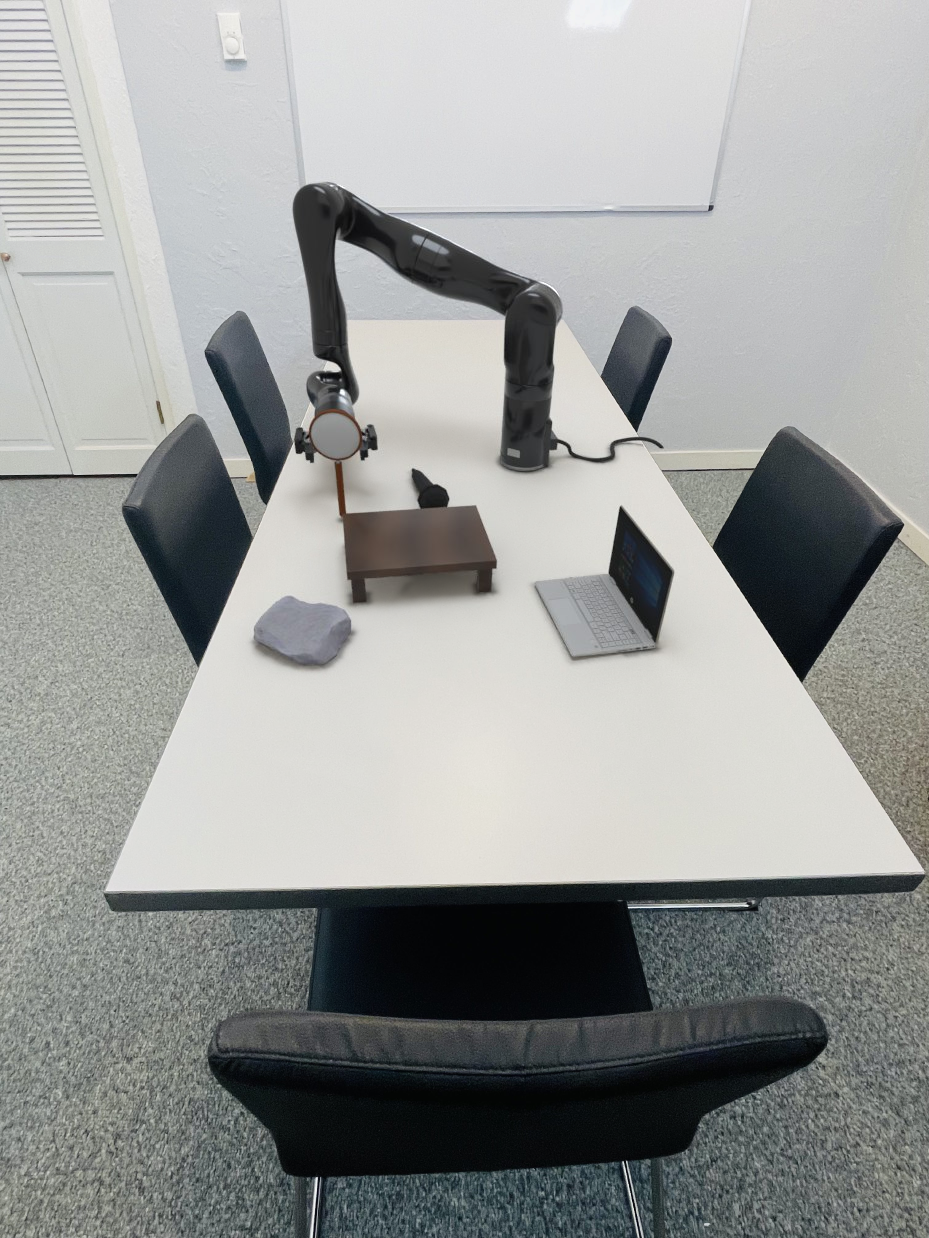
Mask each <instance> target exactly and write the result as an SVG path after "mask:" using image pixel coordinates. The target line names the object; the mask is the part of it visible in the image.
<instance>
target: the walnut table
mask: <svg viewBox="0 0 929 1238" xmlns="http://www.w3.org/2000/svg"><path fill="white" fill-rule="evenodd" d="M480 514H481V513H480V511H479V509H478V507H477V505H476V504H473V505H472V504H471V505H457V506H447V507H440V508H424V509H420V508H412V509H410V508H409V509H395V510H380V511H365V512H346V514H342V516H343V520H342V527H343V541H344V554H345V568H346V578H347V579H346V580H347V581H350V583H351V584H350V585H351V595H352V603H353V604H357V603H359V604H360V603H367V601H368V600H367V590H366V580H369V579H370V580H371V579H381V578H383V579H384V578H395V577H409V576H419V575H433V574H446V573H461V572H472V571H473V572H474V571H476V578H475V579H476V581H475V586H476V589H477V592H478V594H479V593H480V594H481V593H490V592H492V585H493V570H497V569H498V559H497V557H496V554H495V552H494V548H493V546H492V543H491V541H490V539H489V535H488V533H487V530H486V527H485V525H484V523H483V519H482V517H481V515H480Z"/></svg>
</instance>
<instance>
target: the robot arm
mask: <svg viewBox="0 0 929 1238" xmlns="http://www.w3.org/2000/svg"><path fill="white" fill-rule="evenodd" d="M291 207H292V209H291V211H292V220H293V225H294V230H295V234H296V238H297V242H298V247H299V248H298V249H299V252H300V257H301V263H302V268H303V272H304V277H305V284H306V289H307V298H308V303H309V304H308V305H309V314H310V329H311V330H310V331H311V344H312V351H313V355H314V356H315V358H316V359H319V360H322V361H326V362H329V363H333V364H335V365H336V366H337V367H338V368H339V370H315V371H313V372H311V373H309V375H308V377H307V378H306V383H305V387H306V389H305V390H306V394H307V397H308V400H309V402H310V403H311V405H312V407H313V408H314V415H313V416H314V417H315V416H316V415H317V414H319V413H320V412H322V411H325V410H330V409H335V410H341V411H344V412H346V413H348V414H349V415H351V416H352V417H353V418H354V419H355V420H356V415H355V410H354V408H353V406H355V404H356V403H357V402H358V400H359V398H360V386H359V382H358V379H357V376H356V373H355V371H354V367H353V364H352V360H351V354H350V347H349V330H348V329H349V328H348V327H349V326H348V314H347V309H346V305H345V300H344V297H343V295H342V291H341V289H340V285H339V281H338V276H337V270H336V269H337V268H336V243H337V241H339V242H343V243H346V244H350V245H352V246H355V247H357V248H359V249H362V250H364V251H366V252H368V253H370V254H372V255H374V256H375V257H376V258H378V259H379V260H380V261H381V262H383V263H384V264H385V265H386V266H387V267H388V268H389V269H390V270H392V272H393V273H396V275H398V276H399V278H401V279H403V280H405V281H406V282H408V283H410V284H412V285H414V286H416V287H418V288H420V289H422V290H424V291H426V292H429V293H430V294H433V295H436V296H438V297H441V298H445V299H449V300H454V301H459V302H464V303H469V304H475V305H478V306H482V307H485V308H488V309H490V310H492V311H494V312H495V313H497V314H500V315H501V316H503V317H504V329H503V366H504V386H503V387H504V388H503V402H502V403H503V404H502V420H501V421H502V423H501V438H500V450H499V451H500V455H499V462H500V464H501V465H502V466H503V467H505V468H506V469H510V470H512V471H518V472H531V471H532V472H533V471H536V470H537V471H538V470H540V469H542V468H547V467H549V461H550V452H551V451H557V450H558V444H559V445H563V447H566V449H567V452H568V455H569V456H571V457H573V458H575V459H578V460H582V461H586V462H587V461H588V462H593V463H601V462H607V461H611V460H613V459H614V458H615V455H616V450H615V446H616V445H618V444H621V443H628V442H635V441H636V442H637V441H640V442H648V443H651V444H653V445H655V446H656V447H657V448H658V449H665V447H664V446H663V444H662V443H660V442H659V441H658V440H656V439H653V438H650V437H645V436H630V437H623V438H619V439H615V440H613V441H611V443H610V445H609V448H610V455H608V456H603V457H588V456H582V455H580V454H577V453H575V452H574V451H573V450H572V446H571V444H570V443H568V442H567V441H565V440H562V439H560V438H558V436H557V435H556V433H555V432H554V431H553V420H552V419H551V409H552V408H551V407H552V397H553V396H552V395H553V388H554V387H553V386H554V377H555V368H556V367H555V363H554V352H555V351H554V350H555V340H556V331H557V327H558V326H559V324H560V322H561V320H562V318H563V315H564V305H563V301H562V298H561V296H560V295H559V293H558V292H557V291H556V289H555V288H553V287H552V286H551V285H549V284H547V283H545V282H542V281H539V280H536V279H533V278H530V277H527V276H524V275H523V274H522V275H521V274H519V273H516V272H514V271H510V270H507V269H506V268H503V267H500V266H498V265H496V264H494V263H493V262H491V261H489V260H488V259H486V258H484V257H482V256H480V255H479V254H476V253H475V252H473V251H471V250H469V249H467V248H465V247H463V246H461V245H459V244H457V243H455V242H453V241H452V240H450V239H447V238H445V237H443V236H441V235H440V234H437V233H436V232H433V231H431V230H429V229H427V228H425V227H422V226H419V225H417V224H415V223H412V222H410V221H407V220H405V219H403V218H400V217H397V216H395V215H391V214H389V213H386V212H385V211H383V210H380V209H379V208H377V207H375V206H374V205H372V204H371V203H369V202H367V201H365V200H364V199H362V198H361V197H360V196H358V195H356V194H355V193H353V192H352V191H350V190H348V189H347V188H345V187H344V186H342V185H339V184H337V183H335V182H332V181H320V182H314V183H313V182H311V183H308V184H305V185H303V186H301V187H300V188H299V189H298V190H297V192H296V193H295V195H294V197H293V201H292V206H291ZM314 417H313V418H314ZM361 431H362V444H361V446H360V449H359V450H358V452H359V456H360V457H359V458H360V462H361V461H364V462H365V461H366V459H367V458H369V457H370V455H369V450H370V451H377V450H379V449H378V448H379V446H378V434H377V431H376V428H375V425H374V424H371V423H370V424H367V425H366V427H365V428H361ZM294 432H295V433H294V438H293V442H294V449H295V454H296V455H301V454H303V453H304V457H305V460H306V461H308V462H309V464H315V454H317V453H318V452H317V451H316V450H315V449H314V447H313V446H312V444H311V441H310V438H309V430H308V431H307V430H305V429H304V428H303V427H301V426H298V427H296V428H295V431H294Z"/></svg>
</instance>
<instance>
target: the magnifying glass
mask: <svg viewBox="0 0 929 1238" xmlns="http://www.w3.org/2000/svg"><path fill="white" fill-rule="evenodd" d="M361 429H362V428H361V426H360V424H359V422H358V421H357V419H356V418H355V419H354V418H353V417H352V416H351V415H349V414H348V413H346V412H344V411H341V410H335V409H330V410H325V411H322V412H320V413H319V414H317V415H316V416H315V417H313V419H312V420H311V422H310V424H309V428H308V431H309V438H310V441H311V444H312V446H313V447H314V449H315V450H316V451H317V452H316V453H318V454H319V455H321V456H322V457H324V458H326V459H328V460H331V461H335V462H334V472H335V483H336V492H337V502H338V503H337V504H338V513H339V517H340V520H342V521H343V516H342V514H346V513H347V506H346V495H345V494H346V493H345V483H344V474H343V473H344V471H343V463H342V461H346V460H349V459H350V458H352V457H353V456H355V455H356V454H357V453H358V452H359V449H360V446H361V444H362V431H361Z"/></svg>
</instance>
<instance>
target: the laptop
mask: <svg viewBox="0 0 929 1238" xmlns="http://www.w3.org/2000/svg"><path fill="white" fill-rule="evenodd" d="M617 514H618V515H617V519H616V526H615V531H614V536H613V541H612V548H611V554H610V559H609V564H608V565H609V566H608V573H605V574H603V573H602V574H593V575H584V576H576V577H565V578H557V579H546V580H538V581H535V582H534V583H533V584H534V587H536V590H537V592H538V593H539V596H540V597H541V599H542V601H543V603H544V605H545V607H546V609H547V611H548V613H549V615H550V617H551V619H552V620H553V622H554V624H555V627H556V628H557V630H558V632H559V634H560V637H561V638H562V640H563V642H564V644H565V646H566V648H567V649H568V652H569V653H570V655H571V657H573V658H574V657H575V658H576V657H586V656H595V655H604V654H615V653H625V652H633V651H640V650H641V651H643V650H649V649H656V648H657V647H656V644H659V639H660V636H661V631H662V627H663V623H664V618H665V613H666V609H667V606H668V603H669V602H668V601H669V597H670V593H671V588H672V585H673V581H674V576H675V569H674V568H673V567H672V566H671V564H670V563H669V562H668V561H667V559H666V558H665V557H664V556H663V555H662V552H660V551H659V549H658V548H657V547H656V545H655V544H654V543H653V542H652V541H651V539H650V538H649V537H648V535H646V533H645V532H644V531H643V530H642V528H641V527H640V525H639V524H638V523H637V522H636V521H635V520H634V518H633V516H631V514H629V512H628V511H627V510H626V509H625V507H624V506H623V505H620V506H619V509H618V513H617Z"/></svg>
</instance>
